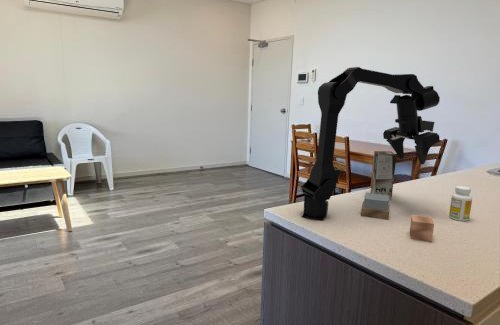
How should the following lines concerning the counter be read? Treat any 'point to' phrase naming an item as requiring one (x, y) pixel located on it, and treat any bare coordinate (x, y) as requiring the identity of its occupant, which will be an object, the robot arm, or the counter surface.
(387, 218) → the walnut base slab
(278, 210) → the counter surface
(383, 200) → the slate top slab
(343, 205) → the counter surface
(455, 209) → the supplement bottle
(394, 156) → the coffee box
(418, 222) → the terracotta cube
